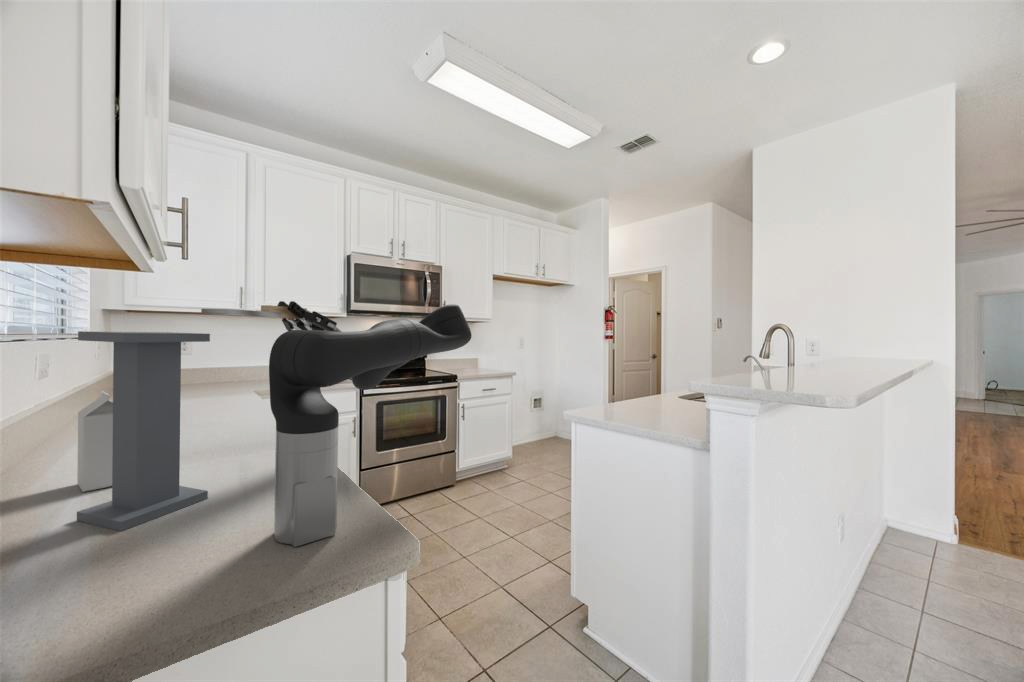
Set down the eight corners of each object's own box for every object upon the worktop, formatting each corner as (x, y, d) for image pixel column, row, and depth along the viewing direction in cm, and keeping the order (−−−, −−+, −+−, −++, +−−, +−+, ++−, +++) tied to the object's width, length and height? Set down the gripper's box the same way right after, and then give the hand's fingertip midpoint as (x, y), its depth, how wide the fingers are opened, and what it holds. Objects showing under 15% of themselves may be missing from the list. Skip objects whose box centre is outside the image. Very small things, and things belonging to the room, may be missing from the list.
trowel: (291, 318, 96) (291, 308, 95) (313, 319, 94) (313, 308, 94) (201, 314, 75) (201, 300, 75) (226, 314, 74) (226, 301, 74)
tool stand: (167, 490, 83) (168, 332, 82) (207, 498, 80) (209, 333, 79) (76, 520, 69) (78, 331, 69) (121, 531, 66) (123, 333, 66)
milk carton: (82, 493, 81) (83, 396, 80) (77, 484, 85) (77, 392, 85) (131, 483, 86) (132, 393, 86) (123, 475, 91) (124, 389, 90)
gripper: (314, 329, 108) (266, 290, 93) (360, 331, 104) (317, 290, 89) (303, 355, 104) (251, 318, 90) (350, 357, 101) (304, 319, 86)
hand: (284, 304), depth 90 cm, fingers closed on trowel, 2 cm apart
